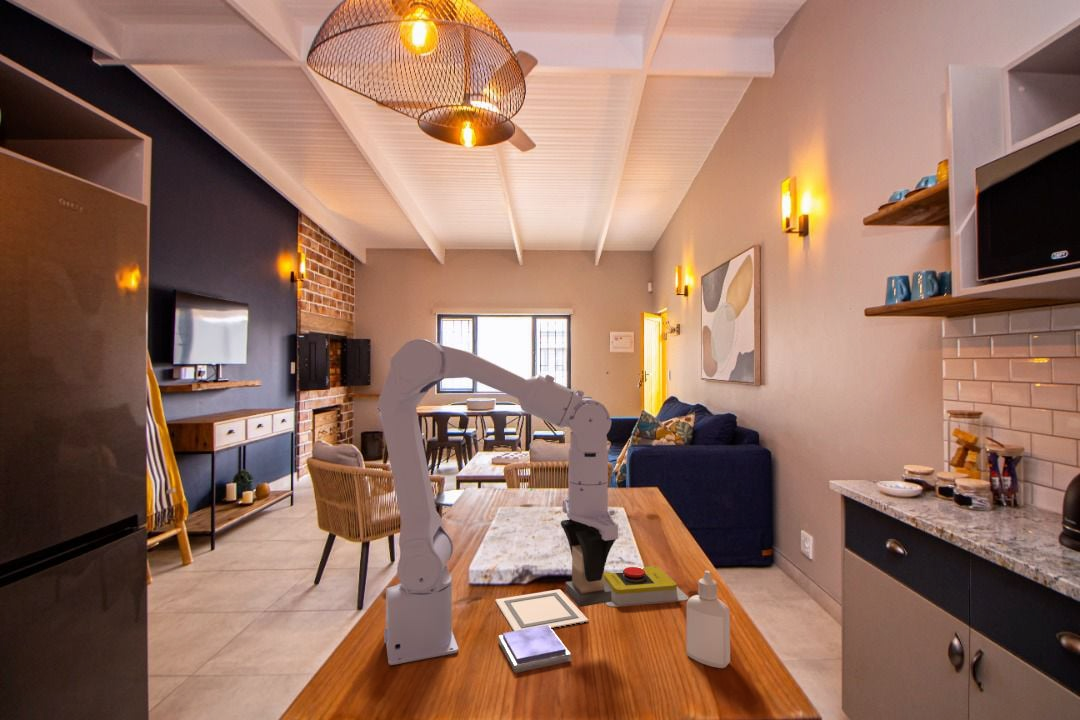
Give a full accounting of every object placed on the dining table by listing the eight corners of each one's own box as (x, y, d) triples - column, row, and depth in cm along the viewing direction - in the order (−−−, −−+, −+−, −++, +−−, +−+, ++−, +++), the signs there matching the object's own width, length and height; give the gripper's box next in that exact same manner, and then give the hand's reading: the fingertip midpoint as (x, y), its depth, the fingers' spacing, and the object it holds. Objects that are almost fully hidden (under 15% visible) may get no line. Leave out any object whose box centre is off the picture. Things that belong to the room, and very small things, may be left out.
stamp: (579, 607, 71) (579, 556, 71) (565, 592, 76) (565, 544, 76) (611, 601, 73) (611, 552, 73) (595, 587, 78) (595, 541, 78)
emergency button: (592, 563, 95) (667, 558, 98) (592, 587, 95) (667, 581, 98) (607, 584, 86) (690, 577, 89) (607, 610, 86) (690, 603, 89)
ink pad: (514, 673, 67) (514, 661, 67) (498, 642, 75) (498, 632, 75) (570, 661, 70) (570, 650, 70) (549, 632, 78) (549, 622, 78)
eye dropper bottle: (709, 674, 67) (708, 581, 67) (682, 652, 72) (681, 566, 72) (735, 666, 69) (734, 576, 69) (706, 645, 74) (706, 562, 74)
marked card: (516, 635, 77) (516, 632, 77) (495, 601, 88) (495, 598, 88) (588, 621, 81) (588, 619, 81) (559, 590, 92) (559, 588, 92)
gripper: (638, 489, 69) (637, 590, 69) (591, 469, 83) (591, 554, 83) (590, 494, 67) (590, 598, 67) (550, 472, 80) (550, 559, 80)
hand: (587, 574), depth 74 cm, fingers closed on stamp, 3 cm apart
